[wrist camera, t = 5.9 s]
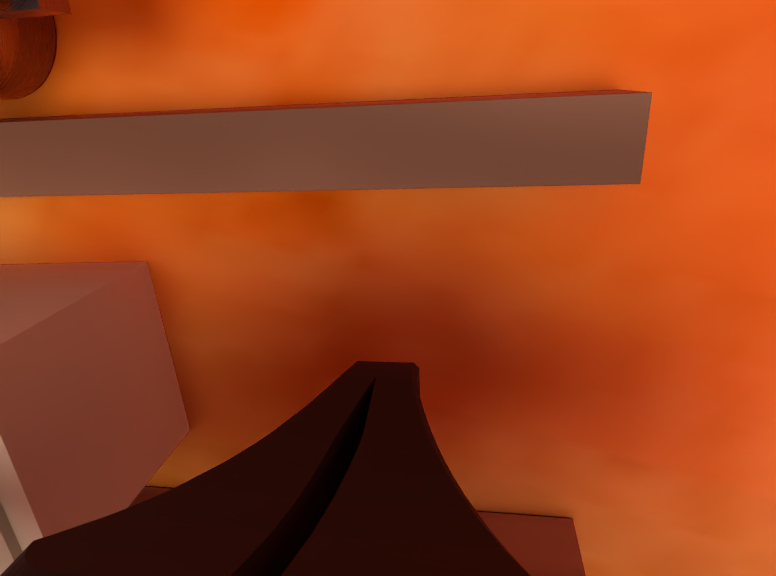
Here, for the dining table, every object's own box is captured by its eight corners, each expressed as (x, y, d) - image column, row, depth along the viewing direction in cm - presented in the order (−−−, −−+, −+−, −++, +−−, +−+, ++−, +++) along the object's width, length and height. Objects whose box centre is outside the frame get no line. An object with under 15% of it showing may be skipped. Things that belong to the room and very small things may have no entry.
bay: (568, 557, 14) (601, 724, 11) (12, 509, 17) (-115, 629, 13) (618, 89, 10) (705, 97, 6) (-145, 125, 13) (-400, 146, 9)
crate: (191, 427, 15) (56, 596, 10) (36, 422, 16) (-157, 575, 11) (149, 260, 13) (-42, 368, 8) (-25, 264, 14) (-290, 363, 9)
